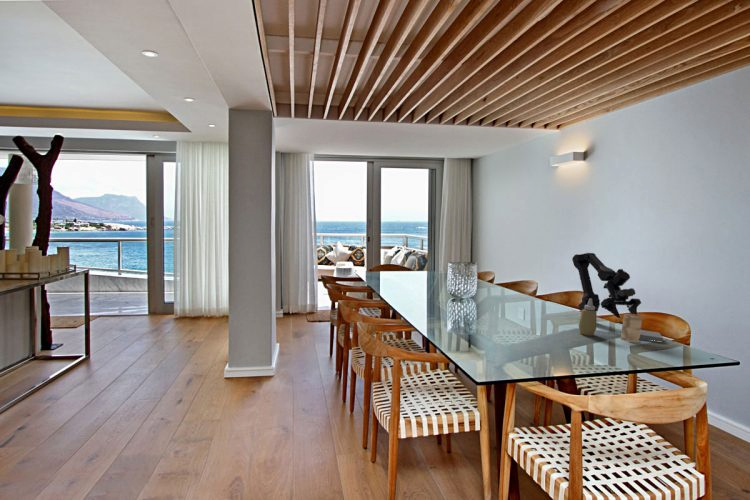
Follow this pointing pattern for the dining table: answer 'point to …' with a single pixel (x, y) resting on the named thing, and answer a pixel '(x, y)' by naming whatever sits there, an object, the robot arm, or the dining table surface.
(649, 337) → the slate base
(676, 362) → the dining table surface
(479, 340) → the dining table surface
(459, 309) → the dining table surface
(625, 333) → the oak block
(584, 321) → the squeeze bottle
